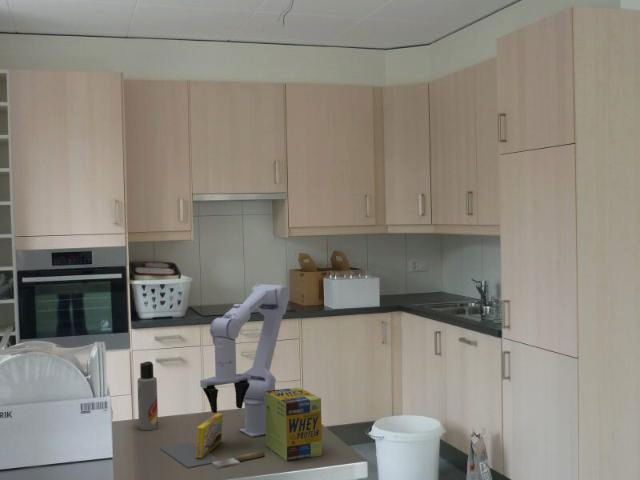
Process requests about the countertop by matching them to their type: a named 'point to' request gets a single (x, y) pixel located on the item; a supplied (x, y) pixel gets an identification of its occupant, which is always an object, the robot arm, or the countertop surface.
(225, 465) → the turner
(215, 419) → the candy box
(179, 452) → the mat
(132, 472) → the countertop surface
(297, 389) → the protein box
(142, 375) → the lotion bottle
